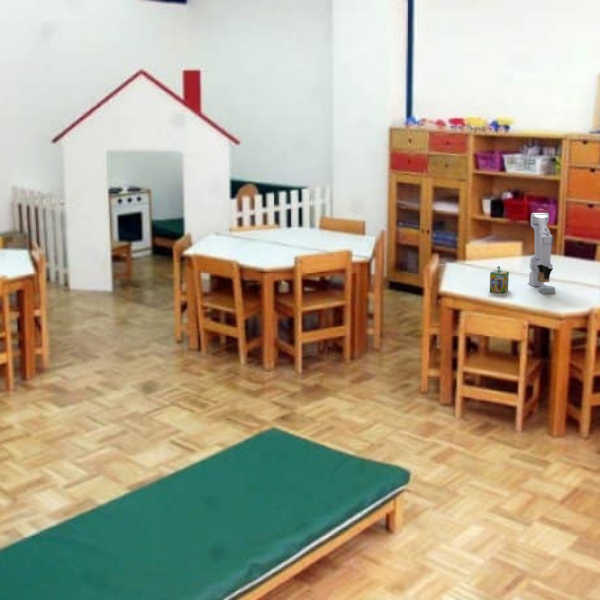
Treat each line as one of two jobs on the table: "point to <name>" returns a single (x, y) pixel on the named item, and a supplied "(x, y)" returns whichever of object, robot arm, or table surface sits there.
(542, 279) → the cube
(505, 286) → the chalk box
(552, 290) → the platform
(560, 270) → the table surface
